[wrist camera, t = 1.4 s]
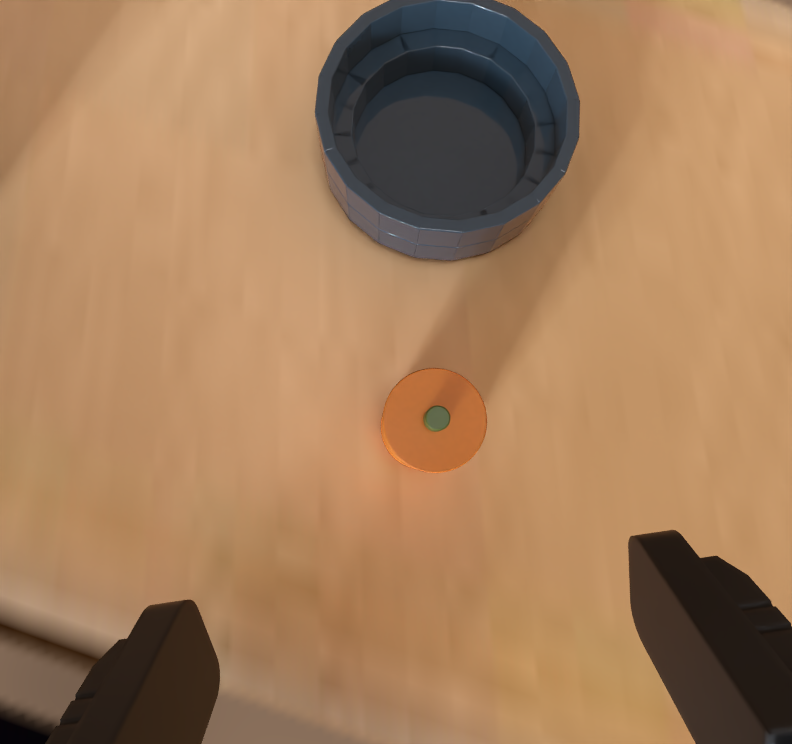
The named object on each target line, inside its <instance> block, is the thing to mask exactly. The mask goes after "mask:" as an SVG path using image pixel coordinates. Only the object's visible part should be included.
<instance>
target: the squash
mask: <svg viewBox="0 0 792 744" xmlns="http://www.w3.org/2000/svg"><path fill="white" fill-rule="evenodd" d="M486 427H487V415H486V409H485V406H484V403H483V400H482V398H481V396H480V394H479V393H478V391H477V390H476V389H475V387H474V386H473V385H472V384H471V383H470V382H469V381H468V380H467V379H465V378H464V377H462V376H461V375H459V374H457V373H455V372H452V371H449V370H445V369H439V368H429V369H423V370H419V371H416V372H414V373H411V374H410V375H408V376H406V377H405V378H403V379H402V380H401V381H400V382H399V383H398V384H397V385H396V386H395V387H394V388H393V390H392V391H391V393H390V394H389V396H388V398H387V401H386V403H385V407H384V411H383V416H382V420H381V434H382V438H383V442H384V444H385V446H386V448H387V450H388V451H389V453H390V454H391V455H392V456H393V457H394V458H395V459H396V460H397V461H398V462H400V463H401V464H403V465H405V466H408V467H410V468H414V469H417V470H420V471H424V472H431V473H441V472H447V471H451V470H454V469H456V468H458V467H460V466H462V465H463V464H465V463H466V462H468V461H469V460H470V459H471V458H472V457H473V456H474V455H475V454H476V452H477V451H478V450H479V448H480V446H481V444H482V442H483V440H484V437H485V433H486Z"/></svg>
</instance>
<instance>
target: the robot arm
mask: <svg viewBox="0 0 792 744" xmlns="http://www.w3.org/2000/svg"><path fill="white" fill-rule="evenodd" d="M628 549H629V577H630V603H631V610H632V615H633V619H634V623H635V626H636V629H637V632H638V634H639V637H640V639H641V641H642V643H643V645H644V647H645V649H646V651H647V653H648V655H649V656H650V658H651V660H652V662H653V664H654V666H655V668H656V670H657V671H658V673H659V675H660V677H661V679H662V681H663V683H664V685H665V686H666V688H667V690H668V692H669V694H670V696H671V698H672V700H673V702H674V703H675V705H676V707H677V709H678V711H679V713H680V715H681V717H682V718H683V720H684V722H685V724H686V726H687V728H688V730H689V732H690V733H691V735H692V737H693V739H694V741H695V743H696V744H792V627H791V623H790V622H789V621H788V620H787V619H786V617H785V616H784V615H783V614H782V613H781V612H780V611H779V610H778V608H777V607H773V606H772V604H771V601H770V599H769V598H768V597H767V596H766V595H765V594H764V593H763V592H762V590H761V589H760V588H759V587H758V586H757V585H756V584H755V583H754V581H753V580H752V579H751V578H750V577H749V576H748V575H747V574H745V573H743V572H742V571H740V570H739V569H737V568H735V567H734V566H732V565H731V564H729V563H727V562H726V561H724V560H723V559H721V558H719V557H718V556H711V557H704V558H699V556H698V555H697V554H696V553H695V551H694V550H693V549H692V548H691V546H690V545H689V544H688V543H687V541H686V540H685V539H684V538H683V536H682V535H681V534H680V533H679V532H677V531H676V530H669V531H662V532H655V533H649V534H642V535H635V536H631V537H630V539H629V543H628ZM219 684H220V669H219V663H218V659H217V656H216V653H215V651H214V648H213V646H212V643H211V640H210V638H209V635H208V633H207V630H206V628H205V625H204V622H203V620H202V617H201V615H200V612H199V610H198V607H197V605H196V604H195V602H194V601H192V600H182V601H175V602H168V603H162V604H155V605H150V606H148V607H147V608H146V609H145V610H144V611H143V612H142V614H141V616H140V617H139V619H138V621H137V623H136V624H135V626H134V628H133V630H132V631H131V633H130V635H129V636H128V638H127V639H121V640H119V641H118V642H117V643H116V644H115V645H114V646H113V647H112V648H111V649H110V650H109V651H108V652H107V653H106V654H105V655H104V656H103V657H102V658H101V659H100V660H99V661H98V662H97V663H96V664H95V665H94V666H93V667H92V669H91V671H90V672H89V674H88V675H87V677H86V679H85V680H84V682H83V684H82V685H81V687H80V688H79V690H78V692H77V693H76V699H75V701H71V703H70V705H69V706H68V708H67V709H66V711H65V713H64V714H63V716H62V718H61V719H60V721H61V722H60V725H59V726H56V727H55V729H54V731H53V732H52V734H51V735H50V737H49V739H48V740H47V742H46V743H45V744H201V743H202V740H203V737H204V734H205V731H206V728H207V725H208V722H209V720H210V717H211V714H212V711H213V708H214V705H215V702H216V699H217V696H218V691H219Z"/></svg>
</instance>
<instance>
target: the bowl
mask: <svg viewBox="0 0 792 744" xmlns="http://www.w3.org/2000/svg"><path fill="white" fill-rule="evenodd" d="M315 118H316V124H317V129H318V135H319V141H320V147H321V153H322V158H323V162H324V166H325V170H326V174H327V178H328V183H329V187H330V190H331V191H332V193H333V194H334V196H335V197H336V199H337V201H338V202H339V204H340V205H341V207H342V208H343V210H344V211H345V213H346V215H347V216H348V218H349V219H350V220H351V221H352V222H353V223H355V224H356V225H357V226H358V227H360V228H361V229H362V230H363V231H364V232H366V233H367V234H368V235H369V236H370V237H372V238H373V239H374V240H375V241H377V242H378V243H380V244H382V245H385V246H387V247H390V248H392V249H395V250H397V251H400V252H402V253H405V254H407V255H409V256H412V257H415V258H427V259H439V260H450V261H451V260H457V259H462V258H466V257H471V256H475V255H480V254H484V253H488V252H490V251H492V250H494V249H495V248H497V247H499V246H501V245H502V244H504V243H506V242H507V241H509V240H511V239H512V238H514V237H516V236H518V235H519V234H520V233H521V232H522V231H523V230H524V229H525V227H526V226H527V225H528V224H529V223H530V222H531V220H532V219H533V218H534V217H535V216H536V215H537V213H538V212H539V211H540V210H541V209H542V207H543V206H544V204H545V203H546V202H547V200H548V199H549V197H550V196H551V194H552V193H553V191H554V190H555V188H556V187H557V185H558V184H559V182H560V181H561V180H562V178H563V177H564V175H565V173H566V171H567V168H568V166H569V163H570V161H571V158H572V155H573V153H574V150H575V148H576V145H577V142H578V138H579V119H580V100H579V96H578V93H577V90H576V87H575V84H574V81H573V78H572V75H571V72H570V69H569V65H568V63H567V62H566V60H565V59H564V57H563V56H562V55H561V53H560V52H559V50H558V49H557V48H556V46H555V45H554V44H553V42H552V41H551V39H550V38H549V37H548V35H547V34H546V33H545V31H543V30H542V29H541V28H540V27H538V26H537V25H536V24H534V23H533V22H532V21H530V20H529V19H528V18H526V17H525V16H524V15H523V14H521V13H520V12H519V11H517V10H516V9H515V8H514V9H513V8H512V7H510V6H507V5H505V4H502V3H500V2H497V1H495V0H389V1H387V2H385V3H383V4H381V5H379V6H377V7H375V8H373V9H372V10H370V11H368V12H366V13H364V14H363V15H361V16H360V17H359V18H358V19H357V20H356V21H355V22H354V23H353V24H352V25H351V26H350V27H349V28H348V29H347V30H346V31H345V32H344V33H343V34H342V35H341V36H340V37H339V38H338V39H337V41H336V42H335V44H334V46H333V48H332V50H331V52H330V54H329V56H328V58H327V60H326V62H325V64H324V66H323V68H322V70H321V72H320V74H319V78H318V87H317V97H316V106H315Z"/></svg>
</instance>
